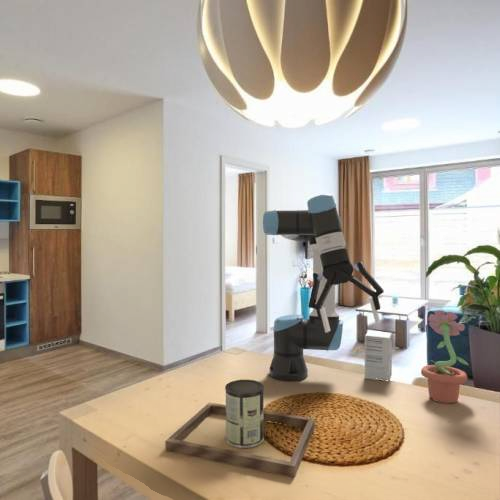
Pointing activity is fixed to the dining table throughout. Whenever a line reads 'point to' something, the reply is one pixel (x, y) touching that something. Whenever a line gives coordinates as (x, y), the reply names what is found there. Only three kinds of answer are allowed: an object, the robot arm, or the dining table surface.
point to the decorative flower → (441, 375)
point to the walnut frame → (240, 458)
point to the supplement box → (378, 355)
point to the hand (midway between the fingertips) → (352, 327)
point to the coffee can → (244, 413)
